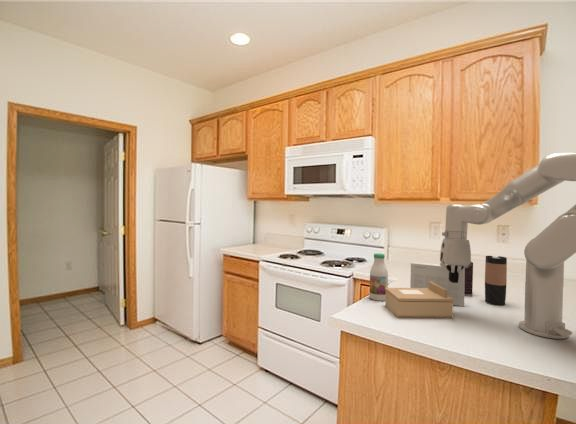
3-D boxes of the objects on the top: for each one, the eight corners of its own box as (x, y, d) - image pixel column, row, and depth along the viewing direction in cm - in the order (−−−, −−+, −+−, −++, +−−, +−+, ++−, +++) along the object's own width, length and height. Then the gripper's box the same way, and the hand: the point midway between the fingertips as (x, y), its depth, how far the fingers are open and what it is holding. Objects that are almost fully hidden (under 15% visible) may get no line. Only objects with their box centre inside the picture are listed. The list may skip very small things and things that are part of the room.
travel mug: (496, 306, 123) (497, 258, 122) (480, 301, 130) (481, 255, 130) (510, 305, 125) (511, 258, 124) (493, 299, 132) (494, 255, 132)
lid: (453, 301, 109) (453, 290, 108) (398, 301, 108) (398, 290, 108) (433, 290, 123) (433, 281, 123) (385, 290, 123) (385, 280, 123)
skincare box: (464, 303, 126) (465, 266, 126) (463, 307, 122) (464, 268, 122) (412, 295, 138) (412, 261, 138) (409, 297, 133) (410, 263, 133)
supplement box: (473, 296, 136) (473, 262, 136) (461, 295, 137) (462, 261, 137) (465, 291, 145) (466, 259, 145) (455, 290, 146) (455, 258, 146)
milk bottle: (373, 295, 137) (374, 252, 137) (390, 298, 132) (391, 254, 132) (366, 298, 131) (367, 254, 131) (383, 302, 126) (384, 256, 126)
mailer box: (452, 318, 109) (452, 302, 109) (398, 317, 109) (398, 301, 108) (433, 305, 123) (433, 291, 123) (385, 305, 123) (385, 290, 122)
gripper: (442, 236, 112) (439, 284, 112) (481, 237, 112) (478, 285, 113) (432, 234, 119) (429, 279, 120) (468, 235, 119) (466, 280, 120)
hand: (453, 281), depth 116 cm, fingers closed
